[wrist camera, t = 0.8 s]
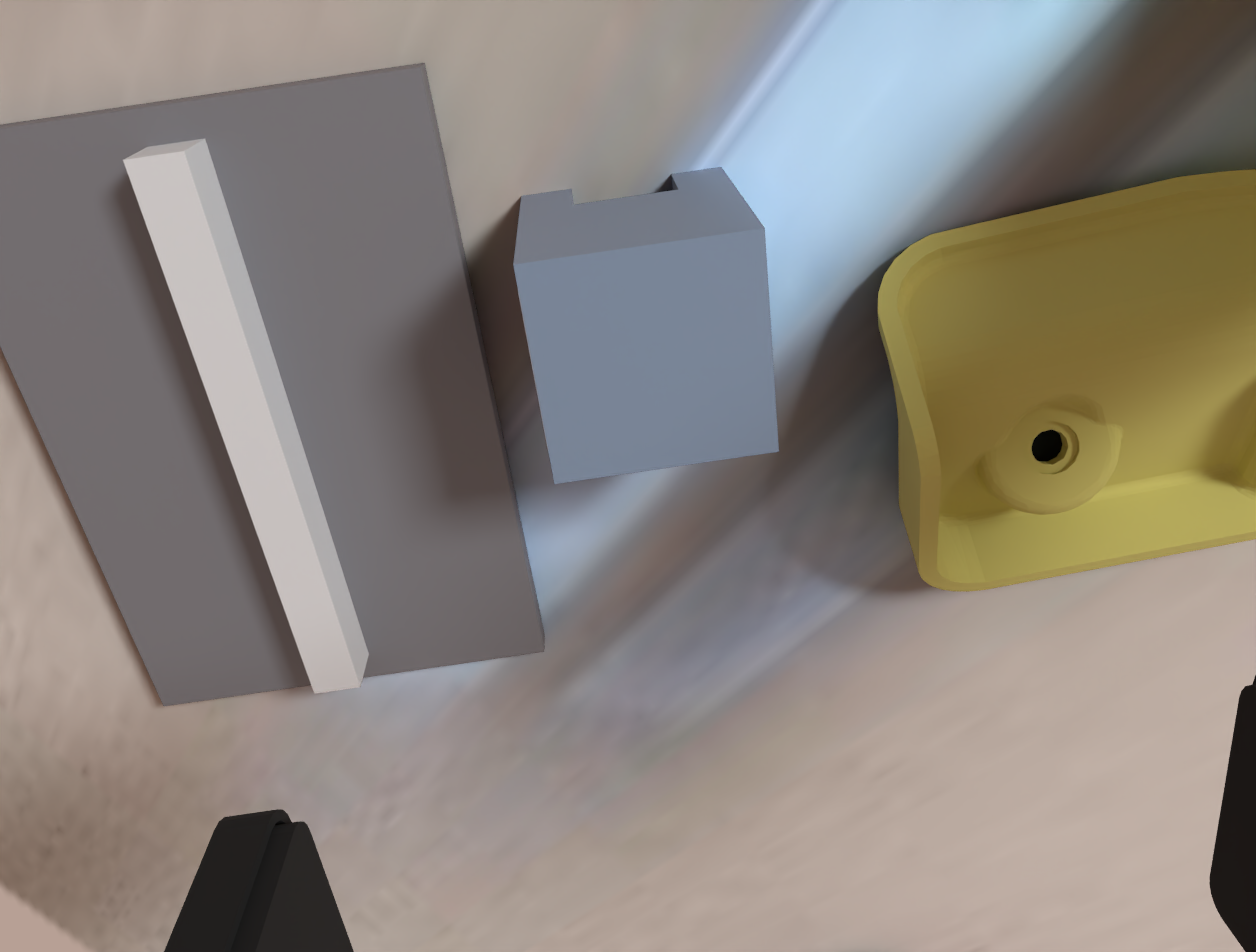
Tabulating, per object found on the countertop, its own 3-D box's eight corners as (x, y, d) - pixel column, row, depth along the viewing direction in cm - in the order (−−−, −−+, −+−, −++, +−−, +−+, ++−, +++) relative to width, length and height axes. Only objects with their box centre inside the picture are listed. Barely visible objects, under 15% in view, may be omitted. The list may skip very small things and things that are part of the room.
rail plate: (-73, 135, 28) (-133, 155, 26) (424, 63, 28) (412, 75, 26) (172, 688, 38) (146, 741, 35) (544, 634, 38) (544, 683, 35)
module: (519, 196, 30) (511, 264, 24) (722, 166, 30) (766, 227, 24) (552, 380, 33) (552, 484, 27) (738, 353, 33) (780, 451, 27)
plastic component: (917, 602, 35) (921, 437, 27) (868, 435, 40) (859, 250, 32) (1530, 487, 33) (1734, 269, 25) (1408, 322, 37) (1549, 90, 29)
